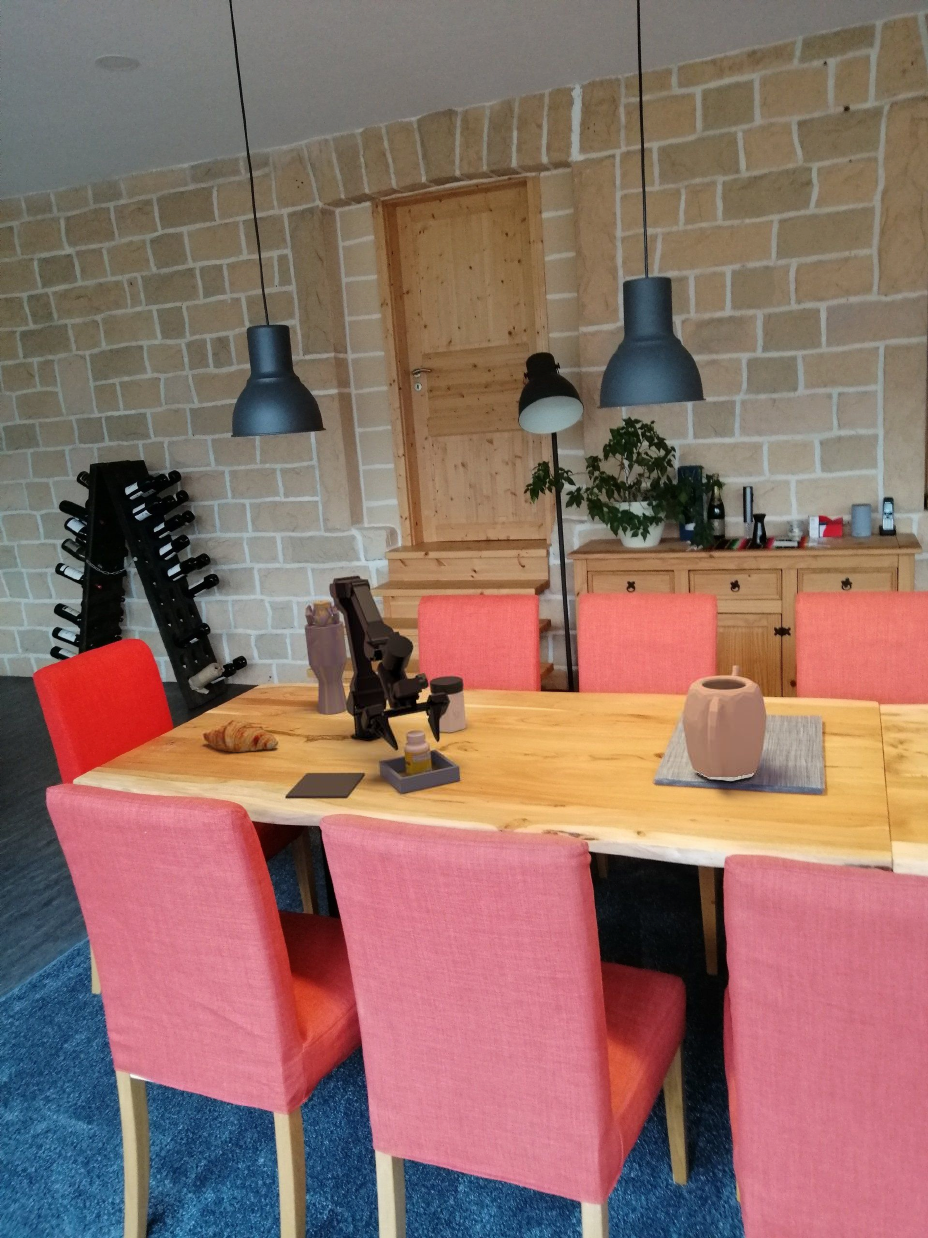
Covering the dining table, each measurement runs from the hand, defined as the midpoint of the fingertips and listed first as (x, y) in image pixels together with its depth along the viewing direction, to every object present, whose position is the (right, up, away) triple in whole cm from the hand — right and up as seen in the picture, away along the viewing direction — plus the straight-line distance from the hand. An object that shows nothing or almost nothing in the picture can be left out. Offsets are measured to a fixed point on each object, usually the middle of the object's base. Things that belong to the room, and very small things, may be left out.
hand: (418, 745), depth 194 cm
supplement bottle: (0, -7, +2) cm, 8 cm away
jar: (+6, -1, +35) cm, 35 cm away
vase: (-26, +2, +59) cm, 64 cm away
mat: (-19, -9, +1) cm, 21 cm away
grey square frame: (0, -7, +2) cm, 7 cm away
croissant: (-44, -5, +31) cm, 54 cm away
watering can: (+62, -4, -7) cm, 63 cm away
